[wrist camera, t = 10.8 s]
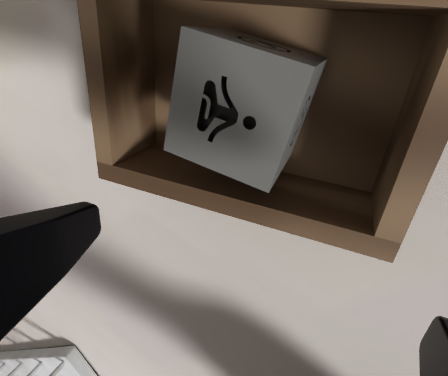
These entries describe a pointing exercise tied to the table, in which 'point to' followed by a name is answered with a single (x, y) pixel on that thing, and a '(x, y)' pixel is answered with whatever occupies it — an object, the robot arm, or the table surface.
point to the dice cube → (239, 102)
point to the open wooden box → (314, 121)
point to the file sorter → (45, 362)
